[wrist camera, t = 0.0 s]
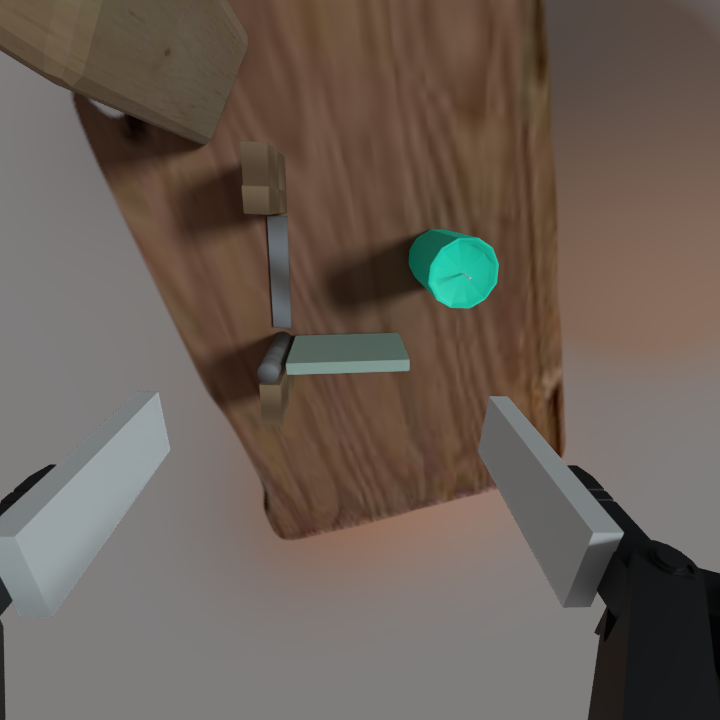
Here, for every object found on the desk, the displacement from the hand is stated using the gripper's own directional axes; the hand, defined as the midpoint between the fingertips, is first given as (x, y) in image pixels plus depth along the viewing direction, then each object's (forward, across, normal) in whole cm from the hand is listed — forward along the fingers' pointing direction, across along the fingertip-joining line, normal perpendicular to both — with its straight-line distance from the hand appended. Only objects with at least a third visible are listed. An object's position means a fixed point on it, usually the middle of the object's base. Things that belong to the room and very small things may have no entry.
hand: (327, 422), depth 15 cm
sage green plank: (+27, +1, -6) cm, 28 cm away
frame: (+28, -6, 0) cm, 29 cm away
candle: (+28, +11, +3) cm, 30 cm away
